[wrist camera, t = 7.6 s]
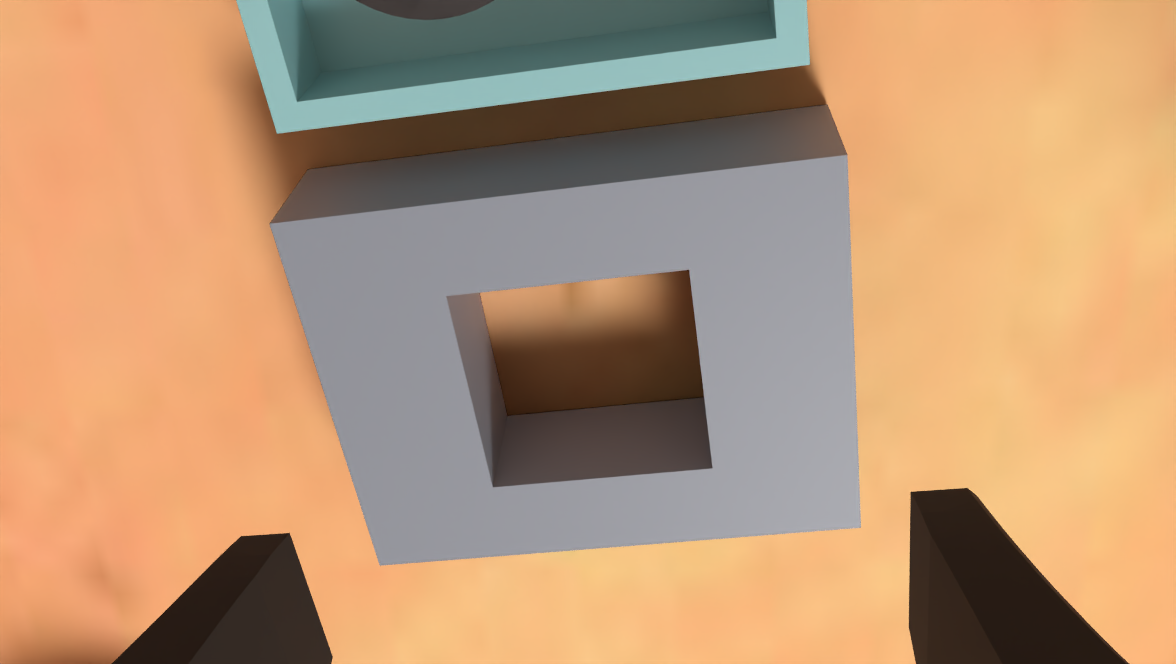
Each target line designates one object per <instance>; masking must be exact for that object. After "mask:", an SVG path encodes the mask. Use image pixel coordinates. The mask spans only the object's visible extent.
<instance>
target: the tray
mask: <svg viewBox="0 0 1176 664" xmlns="http://www.w3.org/2000/svg"><path fill="white" fill-rule="evenodd" d="M236 1H237V4H238V8H239V11H240V14H241V17H242V21H243V24H244V27H245V31H246V34H247V37H248V40H249V44H250V47H251V50H252V53H253V57H254V60H255V63H256V67H257V70H258V73H259V76H260V80H261V83H262V86H263V89H264V93H265V96H266V99H267V103H268V106H269V109H270V112H271V116H272V119H273V122H274V125H275V129H276V132H277V134H279V133H287V132H294V131H302V130H310V129H317V128H325V127H333V126H341V125H348V124H356V123H364V122H371V121H379V120H387V119H395V118H402V117H410V116H418V115H425V114H433V113H441V112H449V111H456V110H464V109H472V108H480V107H487V106H495V105H503V104H510V103H518V102H526V101H534V100H541V99H549V98H557V97H564V96H572V95H580V94H588V93H595V92H603V91H611V90H618V89H626V88H634V87H642V86H649V85H657V84H665V83H672V82H680V81H688V80H696V79H703V78H711V77H719V76H727V75H734V74H742V73H750V72H757V71H765V70H773V69H781V68H788V67H796V66H804V65H810V57H809V38H808V18H807V0H494V1H492V2H491V3H489V4H487V5H485V6H483V7H481V8H479V9H477V10H475V11H472V12H469V13H466V14H463V15H460V16H456V17H451V18H446V19H435V20H418V19H407V18H402V17H397V16H392V15H389V14H386V13H383V12H380V11H377V10H374V9H372V8H370V7H368V6H366V5H364V4H362V3H359V2H357V1H356V0H236Z"/></svg>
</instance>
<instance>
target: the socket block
mask: <svg viewBox="0 0 1176 664" xmlns="http://www.w3.org/2000/svg"><path fill="white" fill-rule="evenodd" d="M270 227H271V230H272V233H273V236H274V239H275V242H276V245H277V249H278V252H279V255H280V258H281V261H282V264H283V267H284V270H285V273H286V276H287V280H288V283H289V286H290V289H291V292H292V295H293V298H294V301H295V304H296V307H297V310H298V314H299V317H300V320H301V323H302V326H303V329H304V332H305V335H306V338H307V341H308V345H309V348H310V351H311V354H312V357H313V360H314V363H315V366H316V369H317V372H318V375H319V379H320V382H321V385H322V388H323V391H324V394H325V397H326V400H327V403H328V406H329V410H330V413H331V416H332V419H333V422H334V425H335V428H336V431H337V434H338V437H339V441H340V444H341V447H342V450H343V453H344V456H345V459H346V462H347V465H348V468H349V471H350V475H351V478H352V481H353V484H354V487H355V490H356V493H357V496H358V499H359V502H360V506H361V509H362V512H363V515H364V518H365V521H366V524H367V527H368V530H369V533H370V537H371V540H372V543H373V546H374V549H375V552H376V555H377V558H378V561H379V564H380V565H393V564H405V563H418V562H431V561H443V560H456V559H469V558H481V557H494V556H507V555H520V554H532V553H545V552H558V551H570V550H583V549H596V548H608V547H621V546H634V545H647V544H659V543H672V542H685V541H697V540H710V539H723V538H735V537H748V536H761V535H774V534H786V533H799V532H812V531H824V530H837V529H850V528H861V518H860V490H859V463H858V435H857V408H856V380H855V353H854V325H853V297H852V270H851V242H850V215H849V187H848V160H847V153H846V150H845V148H844V145H843V143H842V140H841V138H840V135H839V132H838V130H837V127H836V125H835V122H834V120H833V117H832V115H831V112H830V110H829V107H828V104H827V105H819V106H811V107H803V108H795V109H787V110H779V111H771V112H763V113H755V114H747V115H739V116H731V117H723V118H715V119H707V120H699V121H691V122H683V123H675V124H667V125H659V126H651V127H643V128H635V129H627V130H619V131H611V132H603V133H595V134H587V135H579V136H571V137H563V138H555V139H547V140H539V141H531V142H523V143H515V144H507V145H499V146H491V147H483V148H475V149H467V150H459V151H451V152H443V153H435V154H427V155H419V156H411V157H403V158H395V159H387V160H379V161H371V162H363V163H355V164H347V165H339V166H331V167H323V168H315V169H308V170H307V171H306V173H305V174H304V176H303V177H302V179H301V180H300V181H299V183H298V184H297V186H296V187H295V188H294V190H293V191H292V193H291V194H290V196H289V197H288V198H287V200H286V201H285V203H284V204H283V205H282V207H281V208H280V210H279V211H278V213H277V214H276V215H275V217H274V218H273V220H272V221H271V222H270ZM682 270H689V273H690V282H691V290H692V298H693V307H694V315H695V324H696V332H697V341H698V349H699V358H700V366H701V374H702V383H703V391H704V397H702V398H692V399H681V400H671V401H660V402H649V403H639V404H628V405H618V406H607V407H597V408H586V409H575V410H565V411H554V412H544V413H533V414H522V415H512V416H507V412H506V408H505V403H504V399H503V394H502V390H501V386H500V381H499V377H498V372H497V368H496V364H495V359H494V355H493V350H492V346H491V342H490V337H489V333H488V328H487V324H486V320H485V315H484V311H483V306H482V302H481V298H480V292H489V291H498V290H508V289H517V288H526V287H535V286H544V285H554V284H563V283H572V282H581V281H590V280H600V279H609V278H618V277H627V276H636V275H646V274H655V273H664V272H673V271H682Z"/></svg>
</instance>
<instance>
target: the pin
mask: <svg viewBox="0 0 1176 664" xmlns="http://www.w3.org/2000/svg"><path fill="white" fill-rule="evenodd" d="M356 1H357V2H359V3H362V4H364V5H366V6H368V7H370V8H372V9H374V10H377V11H380V12H383V13H386V14H389V15H392V16H397V17H402V18H407V19H418V20H435V19H446V18H451V17H456V16H460V15H463V14H466V13H469V12H472V11H475V10H477V9H479V8H481V7H483V6H485V5H487V4H489V3H491V2H492V1H494V0H356Z"/></svg>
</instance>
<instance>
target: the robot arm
mask: <svg viewBox="0 0 1176 664" xmlns="http://www.w3.org/2000/svg"><path fill="white" fill-rule="evenodd" d="M909 630H910V635H911V640H912V645H913V650H914V655H915V661H916V664H1129V663H1128V662H1127V661H1126V660H1125V659H1124V658H1122V657H1121V656H1120V655H1119V654H1118V653H1117V652H1116V651H1115V650H1114V649H1113V648H1112V647H1111V646H1110V645H1109V644H1108V643H1107V642H1106V641H1105V640H1104V639H1103V638H1102V637H1101V636H1100V635H1099V634H1098V633H1097V632H1096V631H1095V630H1094V629H1093V628H1092V627H1091V626H1090V625H1089V624H1088V623H1087V622H1086V621H1085V620H1084V618H1083V617H1082V616H1081V615H1080V614H1079V613H1078V612H1077V611H1076V610H1075V609H1074V608H1073V607H1072V606H1071V605H1070V604H1069V603H1068V602H1067V601H1066V600H1065V599H1064V598H1063V596H1062V595H1061V594H1060V593H1059V592H1058V591H1057V590H1056V589H1055V588H1054V587H1053V586H1052V585H1051V584H1050V582H1049V581H1048V580H1047V579H1046V578H1045V577H1044V576H1043V575H1042V574H1041V573H1040V571H1039V570H1038V569H1037V568H1036V567H1035V566H1034V565H1033V563H1032V562H1031V561H1030V560H1029V559H1028V558H1027V556H1026V555H1025V554H1024V553H1023V552H1022V551H1021V550H1020V548H1019V547H1018V546H1017V545H1016V544H1015V542H1014V541H1013V540H1012V539H1011V538H1010V537H1009V535H1008V534H1007V533H1006V532H1005V531H1004V529H1003V528H1002V527H1001V526H1000V524H999V523H998V522H997V521H996V519H995V518H994V517H993V516H992V514H991V513H990V512H989V511H988V509H987V508H986V507H985V506H984V504H983V503H982V502H981V500H980V499H979V498H978V497H977V496H976V495H975V494H974V493H973V492H972V491H970V490H969V489H968V488H962V489H947V490H932V491H917V492H911V513H910V583H909ZM331 662H332V654H331V651H330V648H329V645H328V642H327V639H326V636H325V634H324V631H323V628H322V625H321V622H320V619H319V616H318V613H317V611H316V608H315V605H314V602H313V599H312V596H311V593H310V590H309V587H308V585H307V582H306V579H305V576H304V573H303V570H302V567H301V564H300V562H299V559H298V556H297V553H296V550H295V547H294V544H293V541H292V538H291V536H290V533H284V534H269V535H254V536H241V537H240V538H239V539H238V540H237V541H236V542H234V543H233V544H232V545H231V546H230V547H229V548H228V549H227V550H226V551H225V552H224V553H223V554H222V555H221V556H220V557H219V558H218V559H217V560H216V561H215V562H214V563H213V564H212V565H211V566H210V567H209V568H208V569H207V570H206V571H205V572H204V573H203V574H202V575H201V576H200V577H199V578H198V579H197V580H196V581H195V582H194V583H193V584H192V585H191V586H190V587H189V588H188V589H187V590H186V591H185V592H184V593H183V594H182V595H181V596H180V597H179V598H178V599H177V600H176V601H175V602H174V603H173V604H172V605H171V606H170V607H169V608H168V609H167V610H166V611H165V612H164V613H163V614H162V615H161V616H160V617H159V618H158V619H157V620H156V621H155V622H154V623H153V624H152V625H151V626H150V627H149V628H148V629H147V630H146V631H145V632H144V633H143V634H142V635H141V636H140V637H139V638H138V639H137V640H135V641H134V642H133V643H132V644H131V645H130V646H129V647H128V648H127V649H126V650H125V651H124V652H123V653H122V654H121V655H120V656H119V657H118V658H117V659H116V660H115V661H114V662H113V663H112V664H331Z"/></svg>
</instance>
